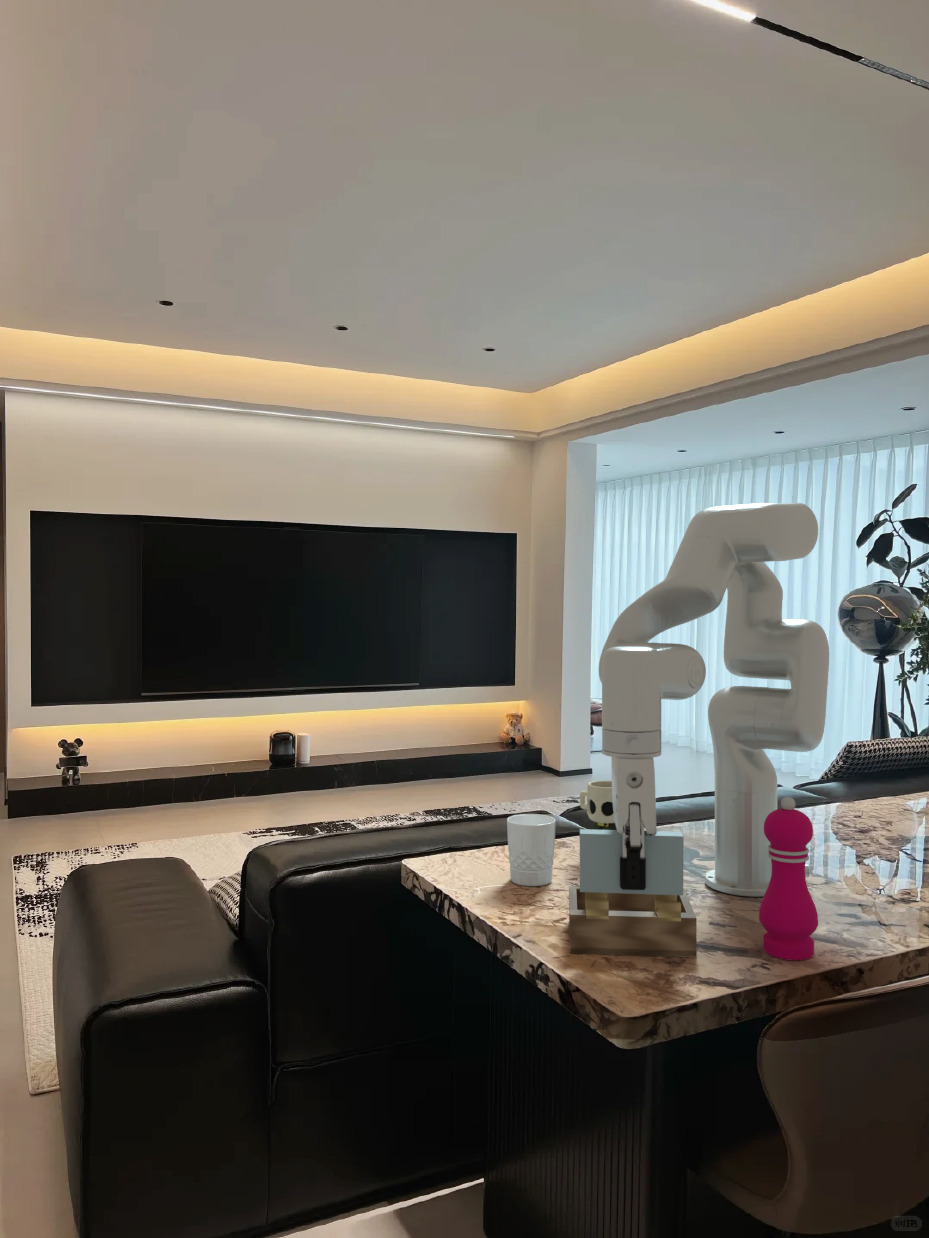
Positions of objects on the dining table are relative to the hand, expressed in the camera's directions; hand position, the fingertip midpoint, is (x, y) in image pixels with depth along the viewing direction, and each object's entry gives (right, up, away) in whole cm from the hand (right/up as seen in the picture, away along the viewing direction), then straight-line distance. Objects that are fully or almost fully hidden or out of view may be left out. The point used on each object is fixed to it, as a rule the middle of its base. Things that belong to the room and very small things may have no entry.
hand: (631, 883), depth 120 cm
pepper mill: (+20, -9, 0) cm, 22 cm away
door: (0, -1, 0) cm, 1 cm away
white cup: (-11, -9, +31) cm, 34 cm away
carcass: (+1, -9, +5) cm, 10 cm away
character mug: (+4, -8, +45) cm, 46 cm away
